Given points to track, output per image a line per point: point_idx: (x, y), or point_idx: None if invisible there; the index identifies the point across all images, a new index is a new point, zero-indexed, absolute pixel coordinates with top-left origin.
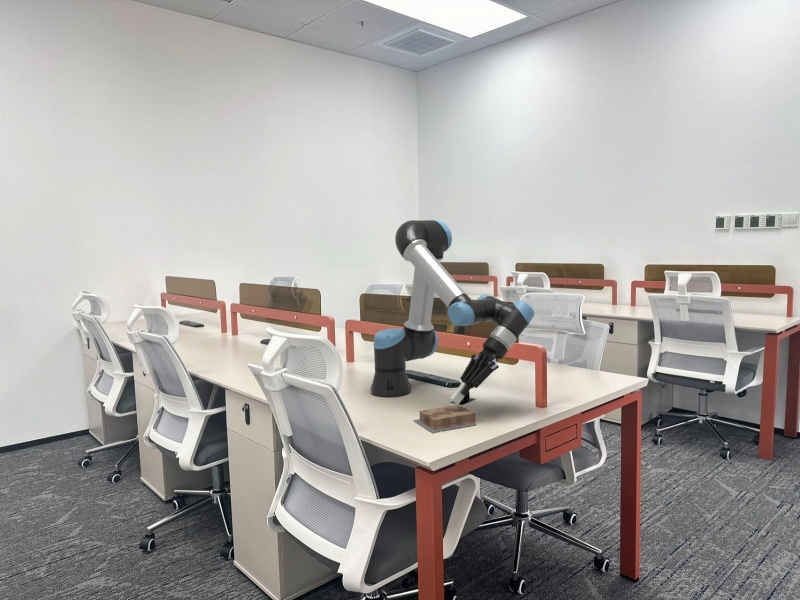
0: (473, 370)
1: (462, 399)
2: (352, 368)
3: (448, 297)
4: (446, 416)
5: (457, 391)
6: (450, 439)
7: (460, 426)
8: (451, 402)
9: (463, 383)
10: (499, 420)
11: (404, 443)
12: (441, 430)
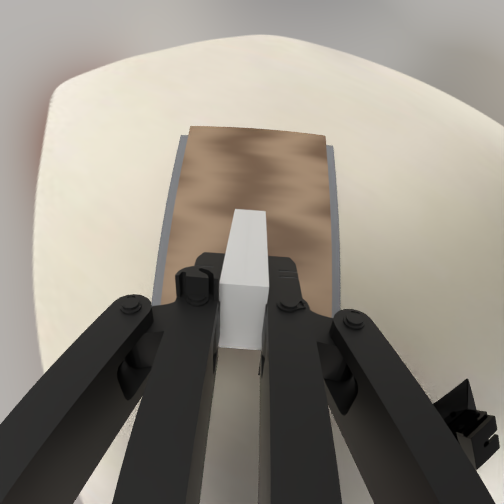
0: (269, 456)
1: (450, 428)
2: None
3: None
4: (197, 181)
5: (244, 236)
6: (103, 158)
7: (165, 243)
8: (463, 385)
9: (242, 280)
10: None
11: (168, 66)
12: (175, 164)
